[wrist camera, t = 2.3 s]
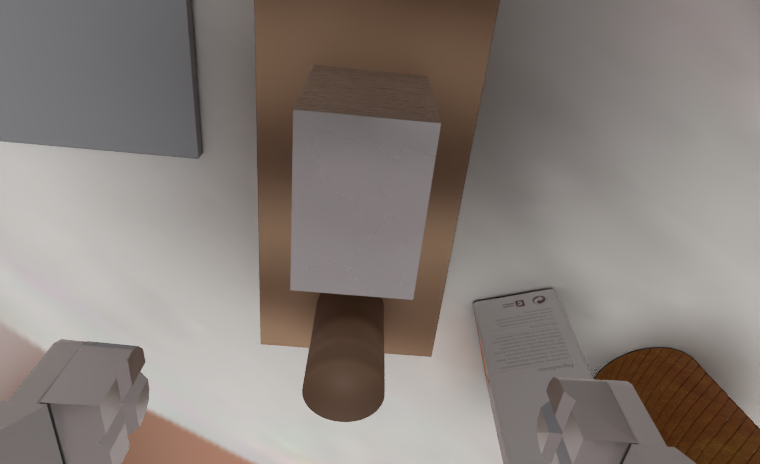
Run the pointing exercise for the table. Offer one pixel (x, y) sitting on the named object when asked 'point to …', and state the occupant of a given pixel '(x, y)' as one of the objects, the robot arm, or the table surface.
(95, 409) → the robot arm
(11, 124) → the slate pad
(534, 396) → the skincare box
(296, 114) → the white rectangular box
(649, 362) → the disposable coffee cup
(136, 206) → the table surface
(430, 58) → the walnut plane
